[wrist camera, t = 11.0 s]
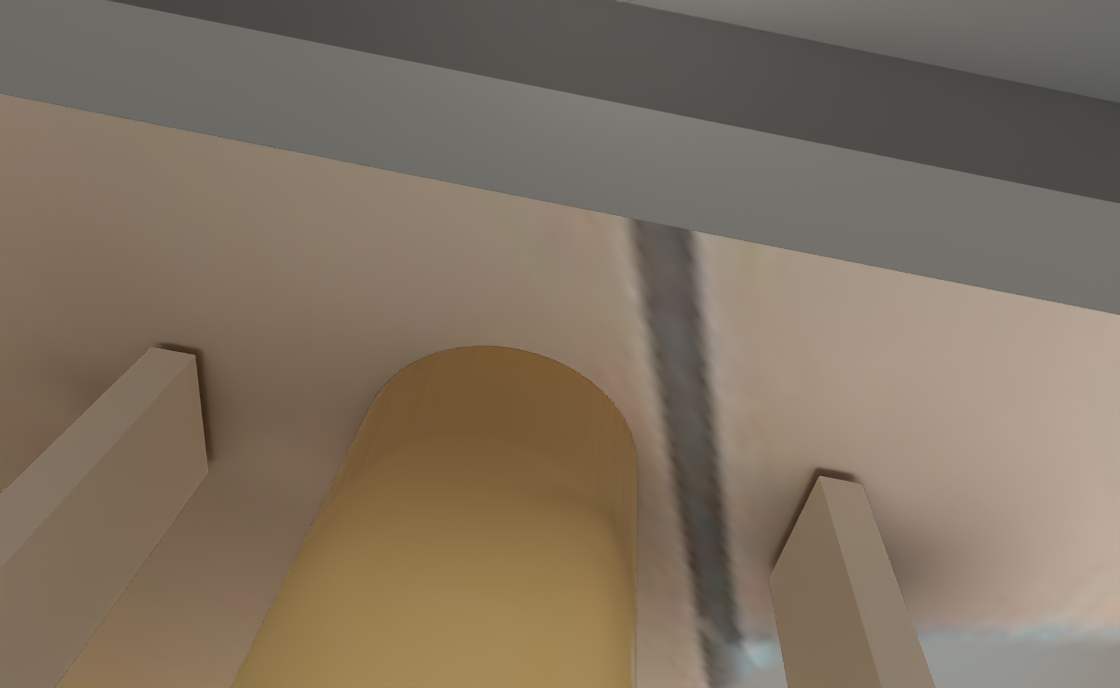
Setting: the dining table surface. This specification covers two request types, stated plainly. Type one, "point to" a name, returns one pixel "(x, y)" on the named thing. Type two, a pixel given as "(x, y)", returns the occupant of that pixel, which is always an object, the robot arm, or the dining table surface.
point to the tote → (661, 112)
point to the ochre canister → (467, 539)
